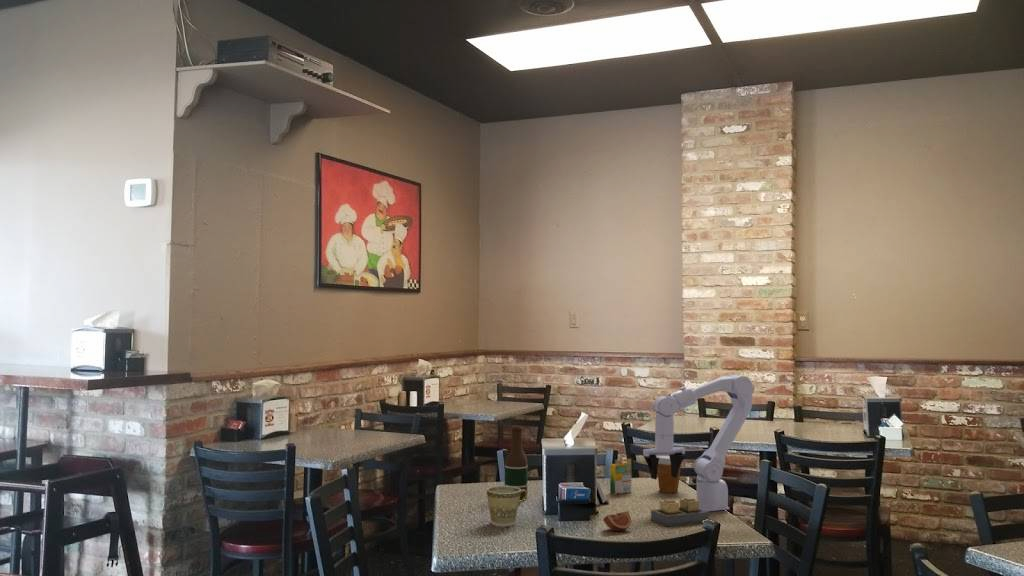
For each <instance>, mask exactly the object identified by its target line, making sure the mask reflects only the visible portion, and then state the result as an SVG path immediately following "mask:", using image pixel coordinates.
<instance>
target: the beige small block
mask: <svg viewBox="0 0 1024 576" xmlns="http://www.w3.org/2000/svg"><path fill="white" fill-rule="evenodd" d="M679 507H680V502H678V501H676V500H674V499H671V498H669V499H663V500H660V501H659V509H660V512H661V513H664V514H666V515H673V514H679Z"/></svg>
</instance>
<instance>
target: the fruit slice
mask: <svg viewBox="0 0 1024 576" xmlns="http://www.w3.org/2000/svg"><path fill="white" fill-rule="evenodd" d="M603 522H604V524H605V525H606V526H607V527H608V528H609V529H610V530H613V531H615V532H624V531H626V530H627V529H629V528H630V526H631V525H632V524H631V523H632V517H631V515H630V512H629V510H628V511H623V512H619V513H617V512H616V513H615V514H614V513H613V514H608V515H606V516H604V518H603Z"/></svg>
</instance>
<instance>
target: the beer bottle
mask: <svg viewBox="0 0 1024 576" xmlns="http://www.w3.org/2000/svg"><path fill="white" fill-rule="evenodd" d="M510 430H511V440H510V447H509V448H510V449H509V451H508V453H507V455H506V457H505V460H504V486H512V487H517V488H520V489H524V490H526V492H527V493H528V468H529V467H528V458H527V455H526V453H525V451H524V450H523V439H522V438H523V437H522V430H523V427H522V426H521V425H511V428H510ZM524 497H525V492H524V491H523V492H521V494H520V499H519V500H522V499H523V498H524ZM527 498H528V495H527V496H526V498H525V499H527Z"/></svg>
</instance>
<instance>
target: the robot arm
mask: <svg viewBox="0 0 1024 576" xmlns="http://www.w3.org/2000/svg"><path fill="white" fill-rule="evenodd" d="M753 385H754V384H753V383H752V380H751V379H750V378H749V377H748V376H746V375H737V374H734V373H730V374H729V373H728V374H727V375H724V376H723V375H722V376H719V377H718V378H716V379H714V380H711V381H708V382H706V383H704V384H702V385H699V386H698V387H695V388H693V389H692V388H690V387H688V386H687V387H684V386H682V387H680V388H679V390H677V391H674V392H668V393H666V396H665V395H664V396H663V395H662V396H658V397H656V398H655V400H654V401H653V404H652V409H653V410H654V412H655V422H654V424H655V425H654V426H655V428H654V431H655V433H654V434H655V436H654V443H655V444H654V445H655V446H654V447H651V448H645V449H642V452H643V453H642V455H643V457H644V458H643V459H644V460H645V463H646V464H647V467H648V470H649V473H650V478H651V479H653V480H658V473H657V467H658V462H659V458H656V456H657V455H669V457H670V462H671V476H672V477H675V478H677V475H678V471H679V468H680V465H681V466H682V464H683V462H684V459H685V454H686V448H685V447H684V446H674V436H675V435H674V431H675V430H674V414H676V412H677V411H680V410H682V409H685V408H688V407H691V406H693V405H695V404H696V402H697V400H698V399H700V398H703V397H706V396H708V395H713V394H715V393H718V392H725V393H727V395H728V397H729V398H730V401H731V403H732V408H731V409H730V411H729V413H728V414H727V416H726V417H725V418H726V419H725V420H724V422H723V424H722V425H721V427H720V429H719V431H718V432H717V434H716V435H715V438H714V439H713V440H712V443H711V445H710V446H709V447H708V449H705V450H704V452H702V455H700V456H699V457H698V458H696V460H695V461H694V463H693V470H694V472H695V473H696V474H697V476H696V499H695V500H698V501H699V509H702V510H705V511H708V512H716V511H724V510H730V507H729V506H728V505H729V503H728V502H729V501H728V500H729V489H728V487H729V486H728V485H727V483H726V481H725V480H723V479H721V478H722V476H723V473H724V467H725V465H726V455H727V453H728V451H729V450H730V448H731V446H732V444H733V442H734V441H735V439H736V437H737V436H738V434H739V432H740V430H741V429H742V426H743V424H744V423H745V422H746V419H747V418H748V416H749V414H750V412H751V410H752V409H753V393H754V391H755V387H754V386H753ZM681 463H682V464H681Z"/></svg>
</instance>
